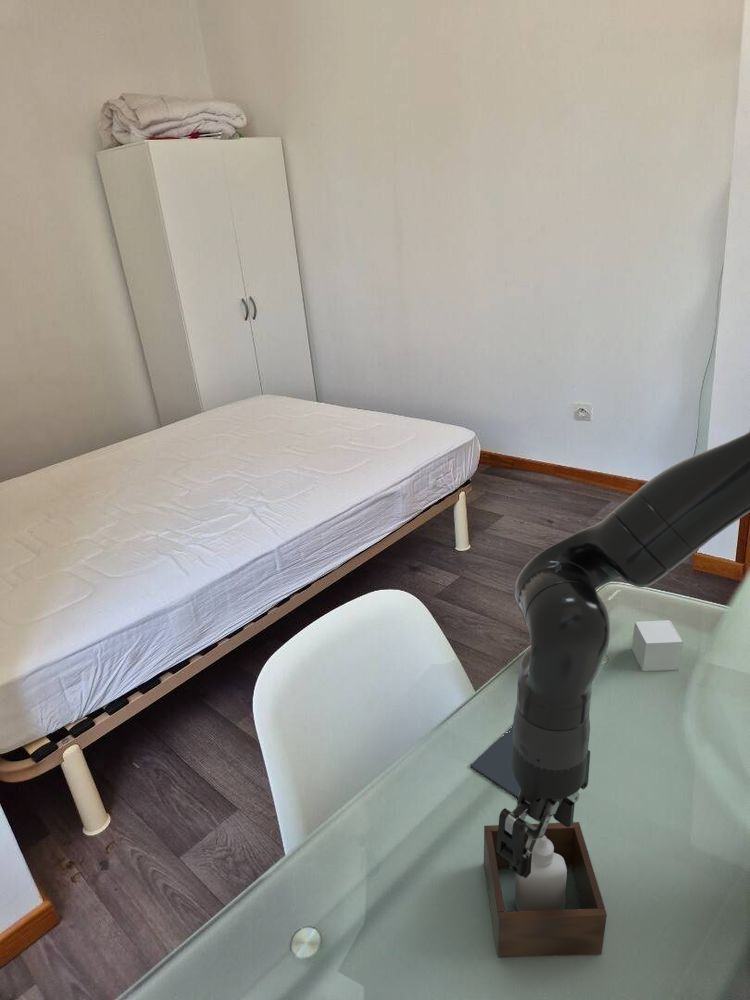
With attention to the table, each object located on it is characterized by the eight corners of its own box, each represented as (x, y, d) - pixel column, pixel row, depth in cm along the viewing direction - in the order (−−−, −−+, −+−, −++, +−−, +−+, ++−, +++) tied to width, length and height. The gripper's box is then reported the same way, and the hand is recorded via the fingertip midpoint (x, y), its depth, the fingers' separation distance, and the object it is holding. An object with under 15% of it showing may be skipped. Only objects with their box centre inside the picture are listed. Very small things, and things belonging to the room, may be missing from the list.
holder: (575, 859, 87) (579, 821, 84) (601, 954, 77) (607, 915, 74) (483, 862, 87) (483, 825, 84) (497, 957, 77) (498, 918, 74)
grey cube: (642, 671, 117) (646, 643, 115) (631, 649, 123) (634, 621, 120) (678, 669, 117) (682, 641, 114) (665, 647, 122) (669, 620, 120)
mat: (586, 762, 101) (586, 760, 101) (540, 813, 93) (540, 811, 93) (517, 722, 109) (517, 720, 108) (470, 767, 101) (470, 765, 101)
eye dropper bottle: (521, 880, 85) (524, 813, 80) (567, 899, 82) (573, 831, 77) (510, 911, 82) (512, 843, 76) (557, 932, 79) (563, 864, 74)
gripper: (542, 803, 63) (534, 913, 71) (618, 719, 72) (604, 824, 79) (477, 760, 68) (476, 867, 75) (556, 686, 77) (548, 788, 84)
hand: (542, 845), depth 77 cm, fingers open, 8 cm apart
